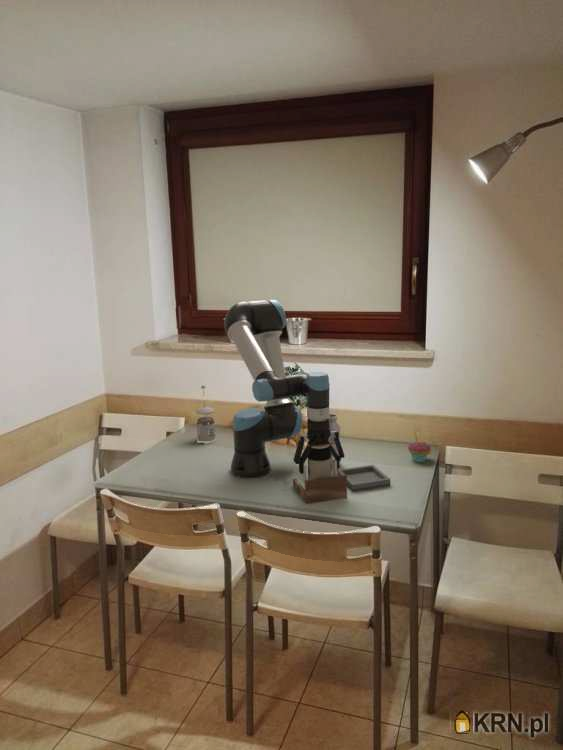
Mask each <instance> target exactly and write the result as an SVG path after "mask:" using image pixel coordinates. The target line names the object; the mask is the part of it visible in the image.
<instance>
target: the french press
mask: <svg viewBox="0 0 563 750" xmlns="http://www.w3.org/2000/svg"><path fill="white" fill-rule="evenodd" d="M206 387H207V386H206V385H201V387H200V388H201V389H202V392H203V395H205V391H204V390H205V389H206ZM205 403H206V402H205V401H203V405H204V406H201V407H199V408H197V409H196V410H195V414H197V415H198V414H199V415H207V416H203V417H199V418H197V420H196V421H197V422H196V431H197V439H198V440H199V441H212V440H214V439H215V437H216V428H215V427H216V424H215V421H214V417H212V414H213V413H214V411H215V409H214V408H212V407H210V406H205ZM209 415H210V416H209Z"/></svg>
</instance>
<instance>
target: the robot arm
mask: <svg viewBox="0 0 563 750" xmlns="http://www.w3.org/2000/svg"><path fill="white" fill-rule="evenodd" d="M284 309H285V308H284V307H283V306H282V304H281V303H280V301H278V300H276V299H262V300H252V301H242V302H237V303H235V304H234V305H231V307H230V308H229V309H228V310H227V313H226V314H225V318H224V320H223V321H224V323H223V326H224V330H225V334H226V336H227V338H228V339H229V340H230V341H233V343H234V345H235V346H236V348H237V351H238V352H239V355H240V356H241V358H242V360H243V361H244V362H243V363H244V364H245V366H246V367H247V369H248V372H249V374H250V375H251V377H252V380H253V382H252V386H251V390H252V394H253V398H254V399H255V400H256V402H266V403H265V404H264V406H263V409H264V410H263V409H262V408H260V407H254V408H253V407H250V408H245V409H242V410H240V411H238V412H236V413H235V414H234V416H233V419H232V423H233V425H232V431H233V444H234V445H233V446H234V447H233V449H234V452H233V457H232V461H231V463H230V472H232V473H233V474H234V476H235V475H236V476H235V477H238V476H240V477H239V478H244V477H246V478H258V477H263V476H265V475H268V473H270V472H271V462H270V460H269V457H268V454H267V451H266V443H268V442H273V441H280V440H284V439H286V440H287V439H290V438H293V437H296V436H298V443H297V446H296V449H295V452H294V457H293V462H294V464H295V465H298V471H299V473H300V474H301V481H302V482H303V484H305V480H307V465H306V460H308V456H309V454H310V452H311V447H312V446H315V445H320V444H325V443H326V444H330V442H329V441H328V439H329V437H330V436H331V435H332V437H333V439H334V442H335V444H336V447H337V450H338V453H339V454H337V453H336V452H335V450H334V449H333V447H332V446H331V444H330V446H329V450H330V452H331V453H332V455H333V456H334V457H335V459H334V458H332V466H331V474H332V476H337V470H339V469H340V464H339V461H340V460H341V461H342V459H344V458H345V453H344V450H343V447H342V444H341V440H340V438H339V433H338V432H337V431H336V430H334V431H330V419H329V414H330V377H329V374H328V373H326V372H324V371H323V372H322V371H311V372H309V373H307V372H305V371H300V370H299V371H297V370H296V371H294V372H293V373H291V374H290V375H286V372H285V365H284V359H283V353H282V347H281V341H280V338H281V337H280V336H281V335H282V333H283V329H284V328H285V326H286V323H287V322H286V321H287V317H286V312H285V310H284ZM300 396H301V397H302V396H303V397H305V398H306V417H307V423H306V424H307V427H306V428H307V432H306V434H300V433H301V430H302V428H303V413H302V411H301V409H300V407H299V406H296V405H295V402H294V401H293V400H292V399H291V398H295V397H300ZM307 439H308V441H307V443H306V446H305V448H304V445H305V442H306V440H307ZM310 443H311V444H310ZM308 444H309V446H308ZM340 458H341V459H340ZM232 473H231V474H232ZM233 474H232V475H233Z"/></svg>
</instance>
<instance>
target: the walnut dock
mask: <svg viewBox="0 0 563 750" xmlns="http://www.w3.org/2000/svg"><path fill="white" fill-rule="evenodd" d="M292 487H293V488H294V490H295V491H296V492H297V493H298V495H299V496H300V497H301V498H302V500H303V501H304V503H305V504H306V505H310V503H311V504H316V503H323V502H328V501H335V500H336V501H337V500H342V499H347V498H348V487H347V476H346V475H339V476H332V473H331V477H325V478H318V479H311V480H308V479H306V480H305V483H304V486H303V485H302V484H301V482H300V481H299V480H298V478H297V477H296V478H293V479H292Z"/></svg>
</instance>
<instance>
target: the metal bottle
mask: <svg viewBox="0 0 563 750" xmlns="http://www.w3.org/2000/svg"><path fill="white" fill-rule="evenodd" d="M337 417H338V416H337V414H334V413H333V414H331V413H329V419H330V431H334V430H336V431H337V432H338V433H339V439H340V436H341V426H340V424H339V423H338V418H337ZM328 441H329V442H330V444H331V446H332V447H333V449H334V450H335V452H336V453H337V454H339V453H338V450H337V447H336V444H335V442H334V439H333V437H332V435H331V436H330V437H329V439H328ZM332 458H334V459H335V457H334V456H333V455H332V453H331V467H332ZM340 459H341V460H340V461H339V465H340V464H341V463H342V458H340Z"/></svg>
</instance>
